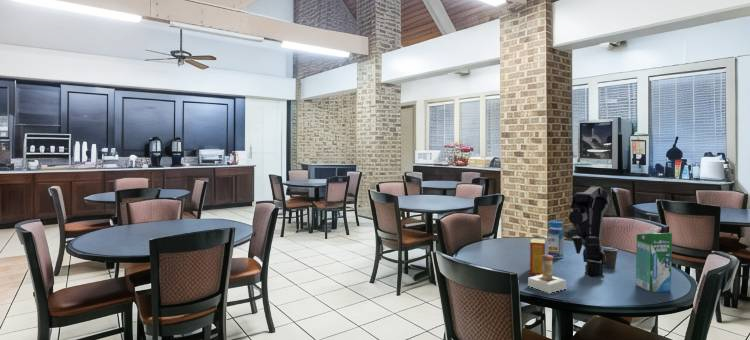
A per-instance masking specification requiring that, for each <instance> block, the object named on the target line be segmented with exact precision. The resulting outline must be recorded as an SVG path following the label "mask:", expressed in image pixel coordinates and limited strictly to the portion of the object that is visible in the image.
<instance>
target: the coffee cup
mask: <svg viewBox="0 0 750 340" xmlns="http://www.w3.org/2000/svg"><path fill="white" fill-rule="evenodd" d="M602 247H603V252H604V254H605V257H606V264H604V265H603V268H606V269H615V268H616V264H617V257H618V252H619V249H617V248H616V247H612V246H611V247H610V246H602Z"/></svg>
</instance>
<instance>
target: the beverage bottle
mask: <svg viewBox="0 0 750 340" xmlns="http://www.w3.org/2000/svg"><path fill="white" fill-rule="evenodd" d="M548 226H549V229H548V231H547V235H548V236H547V255H552V256H553V259H562V258H564V247H565V246H564V245H565V244H564V242H565V241H564V240H565V237H564V235H563V232H562V230H563V229H562V228H563V221H561V220H550V221H549V225H548Z"/></svg>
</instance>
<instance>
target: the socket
mask: <svg viewBox="0 0 750 340" xmlns="http://www.w3.org/2000/svg"><path fill="white" fill-rule="evenodd" d="M528 286H530V287H529V288H531V287H533V288H532V289H534V288H536V289H539V290H541V291H540V292H542V291H545V292H548V293H552V292H555V293H557V292H556V291H559V292H561V291H560V290H562V291H564V289H566V290H567V279H563V278H561V277H557V276H553V275H552V281H550V282H547V281H544V280H542V274H541V275H533V276H529V277H528V278H527V287H528ZM536 289H535V290H536ZM539 290H538V291H539ZM545 292H544V293H545ZM548 293H547V294H548ZM552 294H553V293H552Z"/></svg>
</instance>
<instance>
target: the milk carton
mask: <svg viewBox="0 0 750 340" xmlns="http://www.w3.org/2000/svg"><path fill="white" fill-rule="evenodd" d="M672 245H673V233H672V232H663V233H662V232H661V233H660V232H659V233H657V230H647V231H646V230H645V233H638V234H636V254H635V255H636V263H635V286H637V287H639V288H641V289H643V290H644V291H645V290H646V291H647V292H651V293H657V292H660V293H664V292H665V293H666V292H671V291H672V257H673V256H672V253H673V250H672V247H673V246H672Z"/></svg>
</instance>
